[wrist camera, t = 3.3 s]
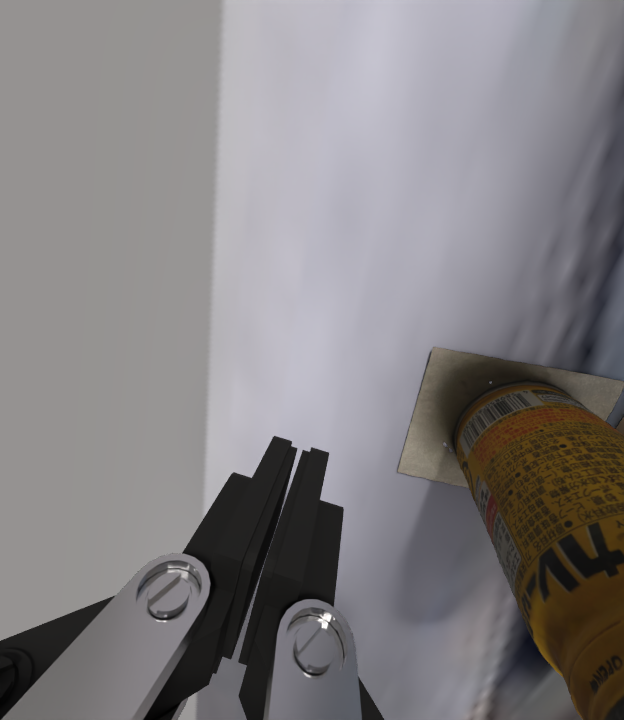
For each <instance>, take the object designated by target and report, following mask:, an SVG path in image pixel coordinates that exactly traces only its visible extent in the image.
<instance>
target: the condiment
mask: <svg viewBox="0 0 624 720" xmlns="http://www.w3.org/2000/svg"><path fill="white" fill-rule="evenodd" d="M489 381H492V384H490V383H489ZM623 388H624V381H620V380H614V379H609V378H604V377H598V376H593V375H588V374H583V373H577V372H571V371H567V370H562V369H556V368H551V367H544V366H539V365H533V364H527V363H522V362H514V361H508V360H503V359H499V358H493V357H488V356H483V355H478V354H471V353H465V352H458V351H452V350H448V349H442V348H437V347H433V350H432V353H431V356H430V360H429V363H428V366H427V369H426V373H425V376H424V379H423V382H422V386H421V390H420V393H419V396H418V399H417V403H416V407H415V410H414V414H413V417H412V420H411V423H410V428H409V432H408V436H407V439H406V443H405V446H404V449H403V453H402V457H401V461H400V464H399V468H398V471H397V472H400V473H405V474H408V475H411V476H416V477H423V478H427V479H430V480H433V481H438V482H444V483H449V484H452V485H455V486H462V487H466V488H469V489H470V491H471V494H472V496H473V499H474V501H475V502H476V505H477V507H478V510H479V512H480V515H481V517H482V519H483V521H484V524H485V526H486V528H487V532H488V534H489V536H490V538H491V541H492V543H493V545H494V548H495V550H496V553H497V557H498V559H499V563H500V564H501V566H502V568H503V571H504V574H505V576H506V578H507V580H508V582H509V585H510V588H511V590H512V593H513V595H514V596H515V598H516V601H517V604H518V607H519V609H520V611H521V613H522V617H523V619H524V621H525V623H526V625H527V628H528V630H529V633H530V634H531V636H532V638H533V640H534V642H535V644H536V647H537V649H538V650H539V651H540V653H541V654H542V656H543V657H544V658H545V659H546V660H547V661H548V662H549V663H550V664H551V666H552V667H553V668H554V669H555V671H557V672H558V673H559V674H560V675H561V676H562V677H564V680H565V682H566V684H567V687H568V691H569V693H570V695H571V699H572V701H573V704H574V706H575V709H576V711H577V712H578V714H579V715H580V716H581V718H582V719H583V720H624V435H622V434H621V433H620V432H619V431H617V430H616V429H614V428H613V427H612V426H611V425H609V424H608V423H607V422H605V421H606V420H607V418H608V416H609V414H610V413H611V412H612V410H613V408H614V406H615V404H616V402H617V400H618V398H619V396H620V395H621V393H622V391H623ZM443 442H445V443H446V444H447V445H448V447H445V446H444V445H443ZM449 448H451V449H452V450H453V452H449Z"/></svg>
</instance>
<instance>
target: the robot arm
mask: <svg viewBox="0 0 624 720" xmlns="http://www.w3.org/2000/svg"><path fill="white" fill-rule="evenodd" d="M291 444H292V441H289V440H286V439H283V438H280V437H276V436H274V437H273V439H272V441H271V443H270V445H269V446H268V448H267V450H266V452H265V454H264V456H263V458H262V460H261V462H260V464H259V466H258V468H257V470H256V471H255V473H254V475H253V477H252V478H250V477H247V476H244V475H240V474H237V473H232V474H231V476H230V477H229V479H228V480H227V482H226V484H225V485H224V487H223V488H222V490H221V492H220V493H219V495H218V496H217V498H216V500H215V501H214V503H213V504H212V506H211V508H210V509H209V511H208V513H207V514H206V516H205V517H204V519H203V521H202V522H201V524H200V525H199V527H198V529H197V530H196V532H195V533H194V535H193V537H192V538H191V540H190V542H189V543H188V545H187V546H186V548H185V550H184V551H183V553H182V554H178V553H172V554H168V555H163V556H160V557H158V558H156V559H154V560H152V561H150V562H148V563H147V564H146V565H145V566H144V567H143V568H141V569H140V570H139V571H138V572H137V573H136V574H135V575H134V576H133V578H132V579H131V580H130V581H129V582H128V583H127V584H126V585H125V586H124V588H122V589H121V590H120V592H119V593H118V594H117V595H115V596H113V597H110V598H108V599H105V600H103V601H100V602H98V603H95V604H93V605H90V606H88V607H85V608H83V609H80V610H77V611H75V612H72V613H70V614H67V615H65V616H62V617H60V618H57V619H55V620H52V621H50V622H47V623H44V624H42V625H39V626H37V627H35V628H32V629H29V630H27V631H24V632H22V633H19V634H17V635H14V636H11V637H9V638H7V639H4V640H1V641H0V720H178V718H179V716H180V714H181V712H182V710H183V709H184V707H185V705H186V702H187V700H188V697H189V696H191V695H193V694H194V693H196V692H198V691H199V690H201V689H202V688H204V687H205V686H207V685H209V682H210V679H211V677H212V674H213V673H215V674H216V673H217V670H218V667H219V664H220V662H221V659H222V656H223V657H226V658H228V659H231V658H232V655H233V653H234V650H235V647H236V644H237V641H238V638H239V635H240V632H241V629H242V626H243V623H244V620H245V617H246V614H247V612H248V609H249V606H250V603H251V600H252V597H253V594H254V591H255V588H256V585H257V582H258V579H259V576H260V573H261V570H262V568H263V571H262V574H261V578H260V582H259V585H258V589H257V593H256V597H255V601H254V604H253V608H252V612H251V616H250V620H249V623H248V627H247V631H246V635H245V639H244V642H243V646H242V650H241V654H240V658H239V663H242V664H245V665H247V668H246V671H245V675H244V679H243V682H242V686H241V689H240V693H239V698H240V701H241V704H242V707H243V710H244V712H245V715H246V718H247V720H384V718H383V717H382V715H381V713H380V712H379V710H378V708H377V707H376V705H375V703H374V702H373V700H372V698H371V697H370V695H369V693H368V692H367V690H366V688H365V687H364V685H363V683H362V682H361V680H360V678H359V677H358V669H357V657H356V647H355V642H354V637H353V633H352V631H351V629H350V627H349V625H348V623H347V621H346V620H345V618H344V617H343V616H342V615H341V614H340V612H339V611H338V610H337V609H335V608H334V598H335V589H336V579H337V569H338V560H339V550H340V541H341V531H342V522H343V511H344V509H343V507H340V506H337V505H334V504H331V503H328V502H325V501H321V500H320V496H321V491H322V486H323V481H324V476H325V471H326V466H327V462H328V457H329V453H328V452H325V451H322V450H319V449H315V448H312V447H311V451H310V452H308V451H305V450H303V451H302V454H301V457H300V460H299V463H298V466H297V469H296V472H295V475H294V478H293V481H292V484H291V487H290V490H289V493H288V496H287V499H286V502H285V505H284V508H283V510H282V513H281V516H280V512H281V509H282V505H283V501H284V497H285V494H286V490H287V486H288V482H289V479H290V475H291V471H292V467H293V464H294V460H295V456H296V452H297V448H295V447H292V446H291ZM279 516H280V519H279ZM278 520H279V522H278ZM277 523H278V525H277ZM276 526H277V528H276ZM275 529H276V531H275ZM274 532H275V534H274ZM273 535H274V537H273ZM272 538H273V540H272ZM271 541H272V543H271ZM270 544H271V546H270ZM269 547H270V549H269ZM268 550H269V552H268ZM267 553H268V555H267ZM266 556H267V558H266ZM265 559H266V561H265ZM264 562H265V564H264ZM263 565H264V567H263Z"/></svg>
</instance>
